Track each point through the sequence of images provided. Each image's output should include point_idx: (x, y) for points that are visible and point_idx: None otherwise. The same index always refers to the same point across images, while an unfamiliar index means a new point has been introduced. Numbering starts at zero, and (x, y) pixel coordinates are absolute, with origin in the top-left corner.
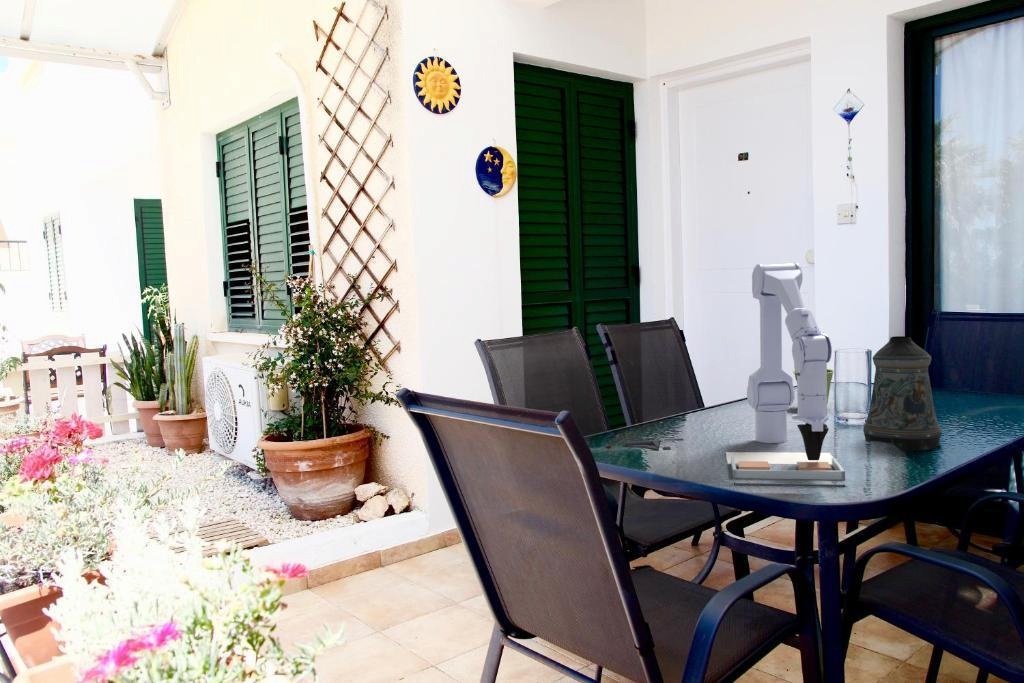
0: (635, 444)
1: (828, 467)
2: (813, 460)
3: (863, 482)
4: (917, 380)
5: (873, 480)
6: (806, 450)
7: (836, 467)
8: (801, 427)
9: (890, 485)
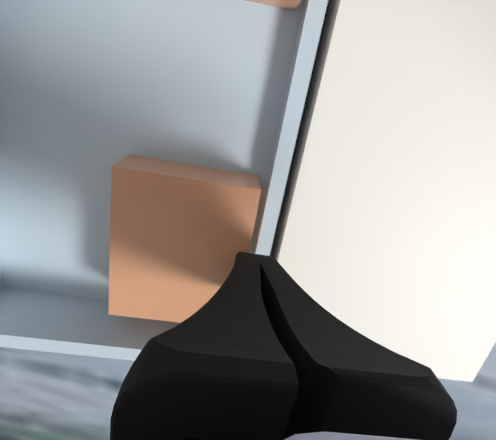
0: None
1: (115, 303)
2: (351, 288)
3: (81, 365)
4: None
5: (113, 398)
6: (230, 272)
7: (112, 333)
8: (148, 392)
9: (45, 421)
